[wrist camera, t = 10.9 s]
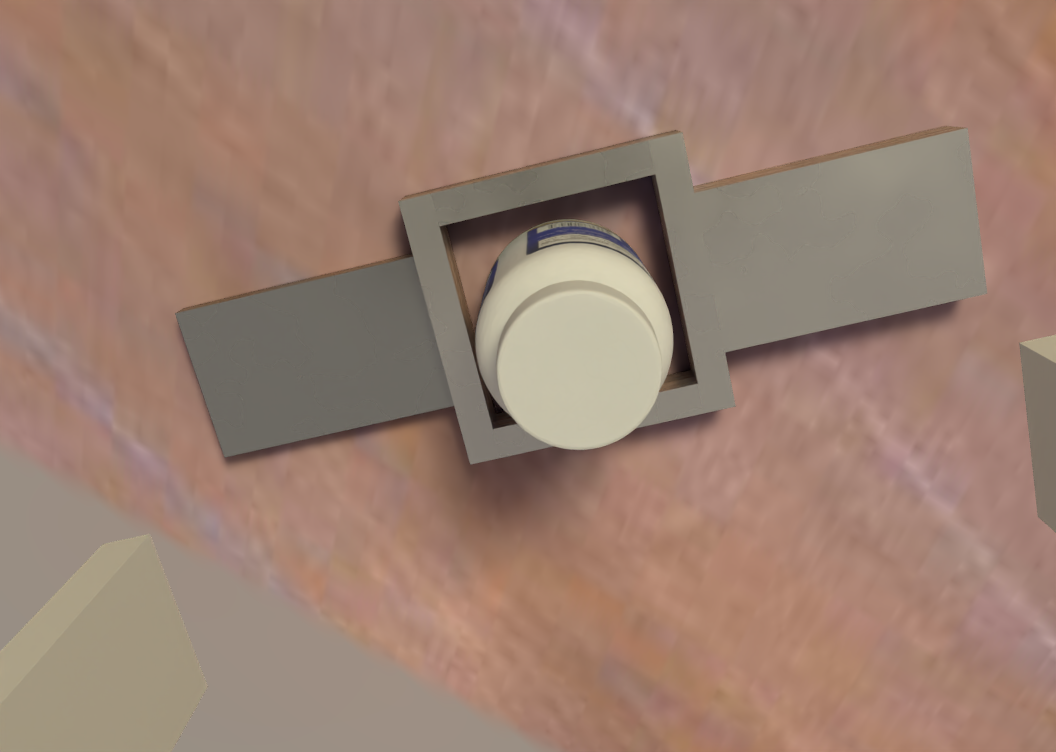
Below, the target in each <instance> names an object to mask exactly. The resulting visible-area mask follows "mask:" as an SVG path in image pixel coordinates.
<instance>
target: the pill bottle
mask: <svg viewBox="0 0 1056 752" xmlns="http://www.w3.org/2000/svg"><path fill="white" fill-rule="evenodd" d="M475 344H476V355H477V361H478V366H479V370H480V373H481V375H482V378H483V380H484V382H485V384H486V386H487V388H488V390H489V391H490V393H491V395H492V396H493V398H494V399H495V400H496V402H497V403H498V404H499V405H500V406H501V407H502V408H503V410H504V411H505V412H507V413H508V414H509V415H510V416H511V417H512V418H513V419H514V420H515V422H516V423H517V424H518V425H519V426H520V427H521V428H522V429H523V430H524V431H526V432H527V433H528V434H530V435H531V436H533V437H534V438H536V439H538V440H540V441H542V442H544V443H546V444H549V445H551V446H555V447H558V448H562V449H569V450H588V449H595V448H599V447H603V446H606V445H609V444H611V443H614V442H616V441H618V440H620V439H622V438H623V437H625V436H626V435H628V434H629V433H631V432H632V431H633V430H634V429H635V428H636V427H637V426H638V425H640V424H641V423H642V421H643V420H644V419H645V418H646V416H647V415H648V414H649V412H650V411H651V409H652V407H653V405H654V403H655V401H656V399H657V397H658V394H659V390H660V389H661V387H662V385H663V383H664V381H665V379H666V376H667V373H668V371H669V367H670V364H671V359H672V354H673V328H672V323H671V317H670V314H669V310H668V308H667V305H666V302H665V300H664V298H663V295H662V293H661V292H660V290H659V288H658V286H657V284H656V283H655V281H654V280H653V278H652V277H651V275H650V274H649V272H648V271H647V269H646V268H645V266H644V265H643V263H642V262H641V260H640V259H639V257H638V256H637V254H636V253H635V251H634V250H633V249H632V248H631V247H630V246H629V245H628V244H627V243H626V242H625V241H624V240H623V239H622V238H621V237H619V236H618V235H617V234H615V233H614V232H612V231H611V230H609V229H607V228H605V227H603V226H600V225H598V224H595V223H592V222H588V221H583V220H575V219H562V220H554V221H549V222H546V223H543V224H540V225H537V226H535V227H533V228H531V229H529V230H527V231H525V232H524V233H522V234H521V235H519V236H518V237H517V238H515V239H514V240H513V241H512V242H511V243H509V244H508V245H507V246H506V248H505V249H504V250H503V251H502V252H501V254H500V255H499V257H498V258H497V260H496V262H495V264H494V266H493V268H492V270H491V272H490V274H489V277H488V280H487V283H486V287H485V291H484V295H483V299H482V303H481V307H480V311H479V314H478V319H477V324H476V332H475Z"/></svg>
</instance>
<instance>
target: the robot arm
mask: <svg viewBox="0 0 1056 752" xmlns="http://www.w3.org/2000/svg"><path fill="white" fill-rule="evenodd" d="M1019 345H1020V354H1021V363H1022V373H1023V382H1024V392H1025V401H1026V410H1027V420H1028V429H1029V438H1030V448H1031V457H1032V467H1033V476H1034V485H1035V495H1036V504H1037V513H1038V517H1039V518H1040V519H1041V520H1042V521H1043V522H1044V523H1045V524H1047V525H1048V526H1049V527H1050V528H1051V529H1052V530H1053V531H1054V532H1056V335H1053V336H1048V337H1044V338H1039V339H1035V340H1030V341H1025V342H1021V343H1019ZM207 687H208V686H207V683H206V680H205V678H204V675H203V673H202V670H201V667H200V665H199V662H198V660H197V657H196V654H195V652H194V649H193V646H192V644H191V641H190V638H189V636H188V633H187V630H186V628H185V625H184V623H183V620H182V617H181V615H180V612H179V609H178V607H177V604H176V602H175V599H174V596H173V594H172V591H171V588H170V586H169V583H168V580H167V578H166V575H165V572H164V570H163V567H162V565H161V562H160V560H159V557H158V554H157V551H156V549H155V546H154V544H153V541H152V538H151V536H150V534H147V535H142V536H138V537H134V538H129V539H124V540H120V541H115V542H111V543H106V544H103V545H102V546H101V547H100V548H99V549H98V550H97V551H96V552H95V553H94V554H93V555H92V556H91V557H90V558H89V559H88V561H86V562H85V563H84V565H83V566H82V567H81V568H80V569H79V570H78V571H77V572H76V573H75V574H74V575H73V576H72V577H71V578H70V579H69V580H68V581H67V582H66V583H65V584H64V585H63V586H62V588H61V589H60V590H59V591H58V592H57V593H56V594H55V595H54V596H53V597H52V598H51V599H50V600H49V601H48V602H47V603H46V604H45V605H44V606H43V607H42V608H41V610H40V611H39V612H38V613H37V614H36V615H35V616H34V617H33V618H32V619H31V620H30V621H29V622H28V623H27V624H26V625H25V626H24V627H23V628H22V629H21V630H20V631H19V633H18V634H17V635H16V636H15V637H14V638H13V639H12V640H11V641H10V642H9V643H8V644H7V645H6V646H5V647H4V648H3V649H2V650H1V651H0V752H172V750H173V748H174V746H175V745H176V743H177V741H178V739H179V737H180V736H181V733H182V732H183V730H184V729H185V727H186V725H187V723H188V721H189V720H190V718H191V716H192V714H193V712H194V711H195V709H196V707H197V705H198V704H199V702H200V700H201V698H202V696H203V695H204V693H205V691H206V689H207Z"/></svg>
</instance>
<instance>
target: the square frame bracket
mask: <svg viewBox="0 0 1056 752" xmlns="http://www.w3.org/2000/svg"><path fill="white" fill-rule="evenodd" d="M650 175H651V176H652V181H653V186H654V191H655V195H656V200H657V205H658V210H659V215H660V220H661V225H662V230H663V235H664V239H665V244H666V249H667V254H668V259H669V264H670V269H671V274H672V279H673V284H674V288H675V293H676V298H677V303H678V308H679V313H680V318H681V323H682V328H683V332H684V337H685V342H686V347H687V352H688V357H689V362H690V367H691V370H688V371H684V372H679V373H675V374H670V375H667V376H666V379H665V381H664V383H663V385H662V387H661V389H660V390H659V394H658V397H657V399H656V401H655V403H654V405H653V407H652V409H651V411H650V412H649V414H648V415H647V416H646V418H645V419H644V420H643V421H642V423H641V424H640V425H638V426H637V427H636V428H640V427H644V426H649V425H653V424H658V423H663V422H667V421H672V420H676V419H681V418H685V417H690V416H694V415H699V414H704V413H708V412H713V411H717V410H722V409H726V408H731V407H736V406H735V401H734V396H733V391H732V385H731V380H730V375H729V370H728V365H727V360H726V354H725V352H729V351H734V350H738V349H742V348H747V347H751V346H756V345H760V344H765V343H769V342H774V341H778V340H783V339H787V338H792V337H796V336H800V335H805V334H809V333H814V332H818V331H823V330H827V329H832V328H836V327H841V326H845V325H850V324H854V323H859V322H863V321H867V320H872V319H876V318H881V317H885V316H890V315H894V314H899V313H903V312H908V311H912V310H917V309H921V308H925V307H930V306H934V305H939V304H943V303H948V302H952V301H957V300H961V299H966V298H970V297H975V296H979V295H983V294H987V288H986V280H985V272H984V263H983V255H982V246H981V238H980V229H979V221H978V213H977V204H976V196H975V187H974V179H973V170H972V162H971V153H970V145H969V137H968V128H964V127H953V126H944V127H940V128H936V129H931V130H927V131H923V132H919V133H915V134H910V135H906V136H902V137H898V138H894V139H890V140H885V141H881V142H877V143H873V144H869V145H864V146H860V147H856V148H852V149H848V150H844V151H839V152H835V153H831V154H827V155H823V156H818V157H814V158H810V159H806V160H802V161H798V162H793V163H789V164H785V165H781V166H777V167H772V168H768V169H764V170H760V171H756V172H752V173H747V174H743V175H739V176H735V177H731V178H726V179H722V180H718V181H714V182H710V183H706V184H701V185H697V186H693V184H692V179H691V174H690V169H689V164H688V158H687V153H686V148H685V143H684V138H683V133H682V132H681V131H677V130H674V131H670V132H665V133H661V134H657V135H653V136H649V137H645V138H641V139H637V140H633V141H629V142H625V143H620V144H616V145H612V146H608V147H604V148H600V149H596V150H592V151H588V152H584V153H580V154H575V155H571V156H567V157H563V158H559V159H555V160H551V161H547V162H543V163H539V164H535V165H530V166H526V167H522V168H518V169H514V170H510V171H506V172H502V173H498V174H494V175H489V176H485V177H481V178H477V179H473V180H469V181H465V182H461V183H457V184H453V185H449V186H444V187H440V188H436V189H432V190H428V191H424V192H420V193H416V194H412V195H408V196H405V197H404V198H402V199H401V200H400V201H398V202H399V206H400V210H401V213H402V217H403V220H404V224H405V228H406V231H407V235H408V239H409V242H410V246H411V250H412V253H413V254H409V255H404V256H400V257H396V258H392V259H388V260H383V261H379V262H375V263H371V264H367V265H363V266H358V267H354V268H350V269H346V270H342V271H337V272H333V273H329V274H325V275H321V276H317V277H312V278H308V279H304V280H300V281H296V282H291V283H287V284H283V285H279V286H275V287H271V288H266V289H262V290H258V291H254V292H250V293H245V294H241V295H237V296H233V297H229V298H224V299H220V300H216V301H212V302H208V303H204V304H199V305H195V306H191V307H187V308H183V309H182V310H180V311H178V312H177V313H175V315H176V318H177V320H178V323H179V326H180V329H181V332H182V335H183V338H184V341H185V344H186V347H187V349H188V352H189V355H190V358H191V361H192V364H193V367H194V370H195V373H196V376H197V379H198V381H199V384H200V387H201V390H202V393H203V396H204V399H205V402H206V405H207V408H208V411H209V413H210V416H211V419H212V422H213V425H214V428H215V431H216V434H217V437H218V440H219V443H220V445H221V448H222V451H223V454H224V457H229V456H234V455H238V454H242V453H247V452H251V451H256V450H260V449H265V448H269V447H274V446H278V445H282V444H287V443H291V442H296V441H300V440H305V439H309V438H314V437H318V436H323V435H327V434H331V433H336V432H340V431H345V430H349V429H354V428H358V427H363V426H367V425H371V424H376V423H380V422H385V421H389V420H394V419H398V418H403V417H407V416H412V415H416V414H420V413H425V412H429V411H434V410H438V409H443V408H447V407H452V406H454V407H455V411H456V414H457V418H458V422H459V425H460V429H461V432H462V436H463V440H464V443H465V447H466V451H467V454H468V458H469V462H470V465H471V464H475V463H480V462H485V461H489V460H494V459H498V458H503V457H507V456H512V455H517V454H521V453H526V452H530V451H535V450H539V449H544V448H548V447H553V446H551V445H549V444H546V443H544V442H542V441H540V440H538V439H536V438H534V437H533V436H531V435H530V434H528V433H527V432H526V431H524V430H523V429H522V428H521V427H520V426H519V425H518V424H517V423H516V422H515V420H514V419H513V418H512V417H511V416H510V415H509V414H508V413H507V412H505V411H504V412H500V413H495V409H494V406H493V402H492V398H491V394H490V391H489V390H488V388H487V386H486V384H485V382H484V380H483V378H482V375H481V373H480V370H479V366H478V361H477V355H476V344H475V333H474V329H473V325H472V322H471V318H470V314H469V310H468V306H467V303H466V299H465V295H464V291H463V287H462V284H461V280H460V276H459V272H458V268H457V265H456V261H455V257H454V253H453V249H452V245H451V242H450V238H449V234H448V230H447V226H446V225H447V224H451V223H455V222H459V221H464V220H468V219H472V218H476V217H480V216H484V215H488V214H493V213H497V212H501V211H505V210H509V209H513V208H517V207H522V206H526V205H530V204H534V203H538V202H542V201H547V200H551V199H555V198H559V197H563V196H567V195H571V194H576V193H580V192H584V191H588V190H592V189H596V188H601V187H605V186H609V185H613V184H617V183H621V182H625V181H630V180H634V179H638V178H642V177H646V176H650Z"/></svg>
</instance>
